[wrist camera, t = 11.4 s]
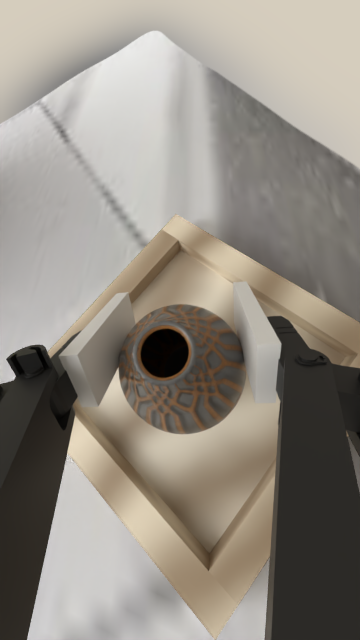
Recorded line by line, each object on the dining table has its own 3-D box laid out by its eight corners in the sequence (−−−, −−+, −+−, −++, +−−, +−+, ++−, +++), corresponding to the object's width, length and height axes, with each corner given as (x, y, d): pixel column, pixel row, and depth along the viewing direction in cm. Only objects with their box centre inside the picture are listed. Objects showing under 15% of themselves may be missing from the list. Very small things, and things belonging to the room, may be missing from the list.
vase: (125, 378, 17) (39, 366, 9) (183, 309, 18) (155, 238, 10) (197, 446, 15) (174, 518, 6) (259, 364, 16) (307, 335, 7)
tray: (38, 387, 20) (15, 386, 18) (179, 231, 23) (175, 214, 21) (215, 598, 14) (215, 640, 12) (378, 354, 17) (404, 349, 15)
